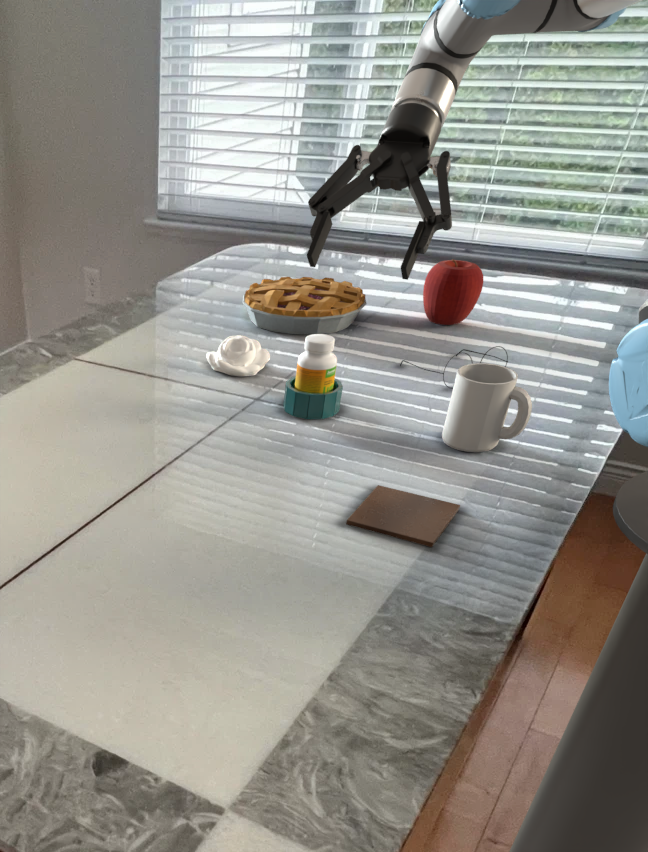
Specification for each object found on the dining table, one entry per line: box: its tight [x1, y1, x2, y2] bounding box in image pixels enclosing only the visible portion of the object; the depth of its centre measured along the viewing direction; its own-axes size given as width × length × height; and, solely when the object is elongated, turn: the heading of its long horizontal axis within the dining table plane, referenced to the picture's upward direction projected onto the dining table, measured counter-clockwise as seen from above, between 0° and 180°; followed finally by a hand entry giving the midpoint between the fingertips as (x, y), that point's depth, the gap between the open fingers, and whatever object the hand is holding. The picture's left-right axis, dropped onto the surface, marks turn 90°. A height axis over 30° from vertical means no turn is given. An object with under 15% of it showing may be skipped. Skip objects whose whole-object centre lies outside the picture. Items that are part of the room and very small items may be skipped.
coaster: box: [345, 484, 461, 548], centre depth 97 cm, size 10×10×1 cm
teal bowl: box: [282, 375, 344, 420], centre depth 120 cm, size 8×8×4 cm
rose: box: [206, 334, 271, 377], centre depth 133 cm, size 10×4×10 cm
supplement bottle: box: [294, 333, 338, 393], centre depth 118 cm, size 5×5×10 cm
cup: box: [441, 362, 533, 453], centre depth 108 cm, size 7×10×9 cm
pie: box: [242, 276, 367, 335], centre depth 150 cm, size 22×22×5 cm
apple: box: [422, 258, 484, 326], centre depth 144 cm, size 10×10×10 cm
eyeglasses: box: [399, 345, 509, 390], centre depth 128 cm, size 11×13×5 cm
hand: (356, 267), depth 117 cm, fingers open, 13 cm apart
